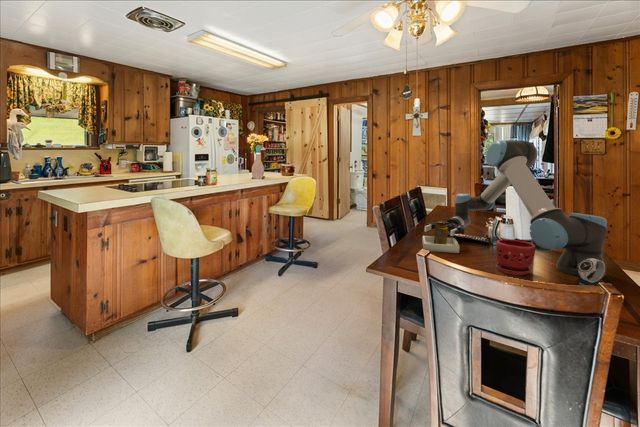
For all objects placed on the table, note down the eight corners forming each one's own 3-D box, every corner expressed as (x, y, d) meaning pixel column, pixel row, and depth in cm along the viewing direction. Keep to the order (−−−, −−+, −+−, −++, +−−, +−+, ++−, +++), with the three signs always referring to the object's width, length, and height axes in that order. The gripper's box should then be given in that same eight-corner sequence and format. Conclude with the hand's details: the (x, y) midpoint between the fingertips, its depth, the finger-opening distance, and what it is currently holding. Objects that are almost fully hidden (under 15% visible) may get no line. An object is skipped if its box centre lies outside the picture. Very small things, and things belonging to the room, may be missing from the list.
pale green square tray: (458, 253, 150) (459, 246, 149) (423, 250, 154) (424, 243, 154) (454, 244, 165) (454, 237, 165) (422, 242, 169) (422, 235, 169)
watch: (571, 287, 111) (575, 257, 109) (591, 285, 113) (596, 256, 111) (586, 293, 106) (591, 262, 104) (607, 292, 107) (612, 261, 105)
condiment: (450, 245, 159) (452, 222, 157) (439, 248, 155) (441, 224, 152) (437, 242, 165) (439, 219, 163) (427, 244, 161) (428, 221, 158)
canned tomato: (543, 246, 160) (546, 225, 158) (553, 251, 153) (556, 229, 151) (527, 246, 161) (529, 225, 159) (536, 251, 153) (538, 229, 151)
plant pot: (538, 278, 119) (542, 248, 117) (500, 276, 122) (504, 246, 119) (523, 266, 132) (526, 238, 130) (489, 264, 134) (491, 237, 132)
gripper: (477, 234, 163) (462, 243, 148) (431, 227, 180) (414, 234, 165) (479, 220, 162) (464, 227, 147) (432, 214, 179) (415, 220, 163)
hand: (437, 231), depth 156 cm, fingers open, 12 cm apart
